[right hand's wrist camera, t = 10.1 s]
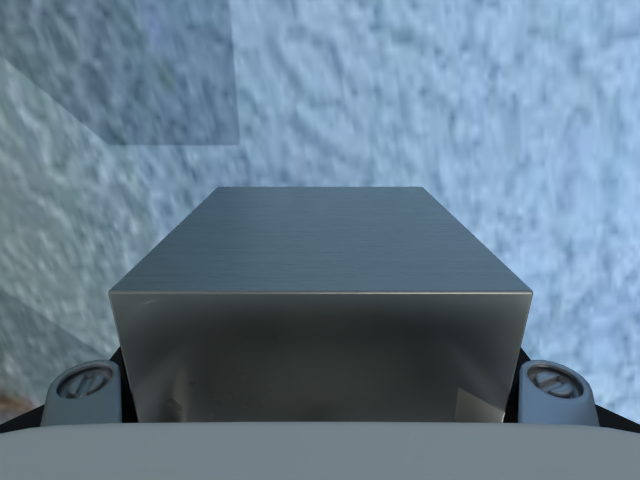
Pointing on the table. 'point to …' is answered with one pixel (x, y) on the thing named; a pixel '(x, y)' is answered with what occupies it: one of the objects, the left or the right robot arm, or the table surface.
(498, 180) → the table surface
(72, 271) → the table surface
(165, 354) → the block
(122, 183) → the table surface
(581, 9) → the table surface
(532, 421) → the right robot arm
